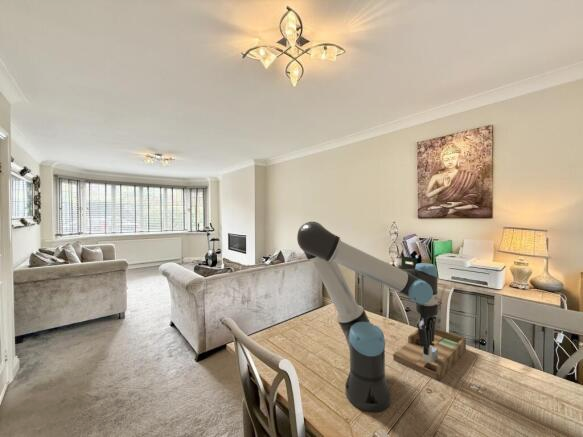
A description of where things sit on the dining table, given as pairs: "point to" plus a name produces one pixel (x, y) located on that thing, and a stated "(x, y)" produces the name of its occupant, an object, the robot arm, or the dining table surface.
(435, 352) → the block
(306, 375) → the dining table surface
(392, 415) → the dining table surface
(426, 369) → the box
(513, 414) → the dining table surface
